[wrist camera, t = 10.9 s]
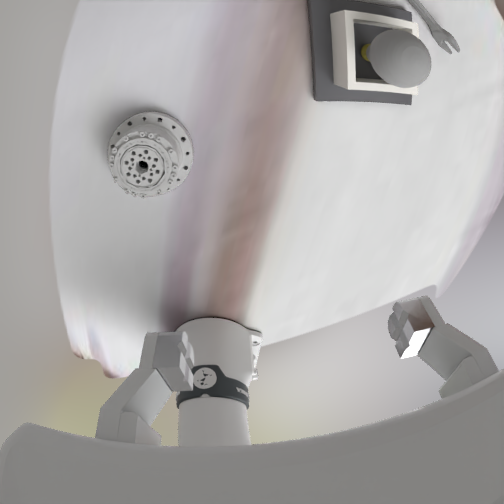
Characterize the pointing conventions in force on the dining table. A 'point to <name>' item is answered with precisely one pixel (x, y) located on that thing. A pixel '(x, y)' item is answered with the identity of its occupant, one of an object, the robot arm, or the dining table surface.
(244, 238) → the dining table surface
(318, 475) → the robot arm
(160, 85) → the dining table surface
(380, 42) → the light bulb
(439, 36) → the combination wrench
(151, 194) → the mechanical component
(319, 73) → the lamp base
